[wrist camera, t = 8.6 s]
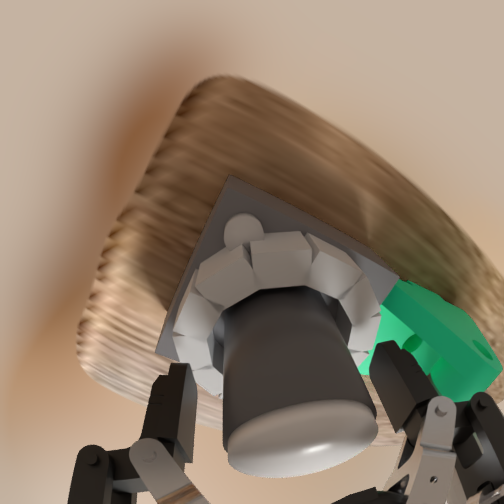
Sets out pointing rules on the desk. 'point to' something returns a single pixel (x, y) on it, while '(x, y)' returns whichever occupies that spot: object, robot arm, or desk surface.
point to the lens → (290, 387)
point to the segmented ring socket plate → (269, 277)
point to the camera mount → (437, 341)
